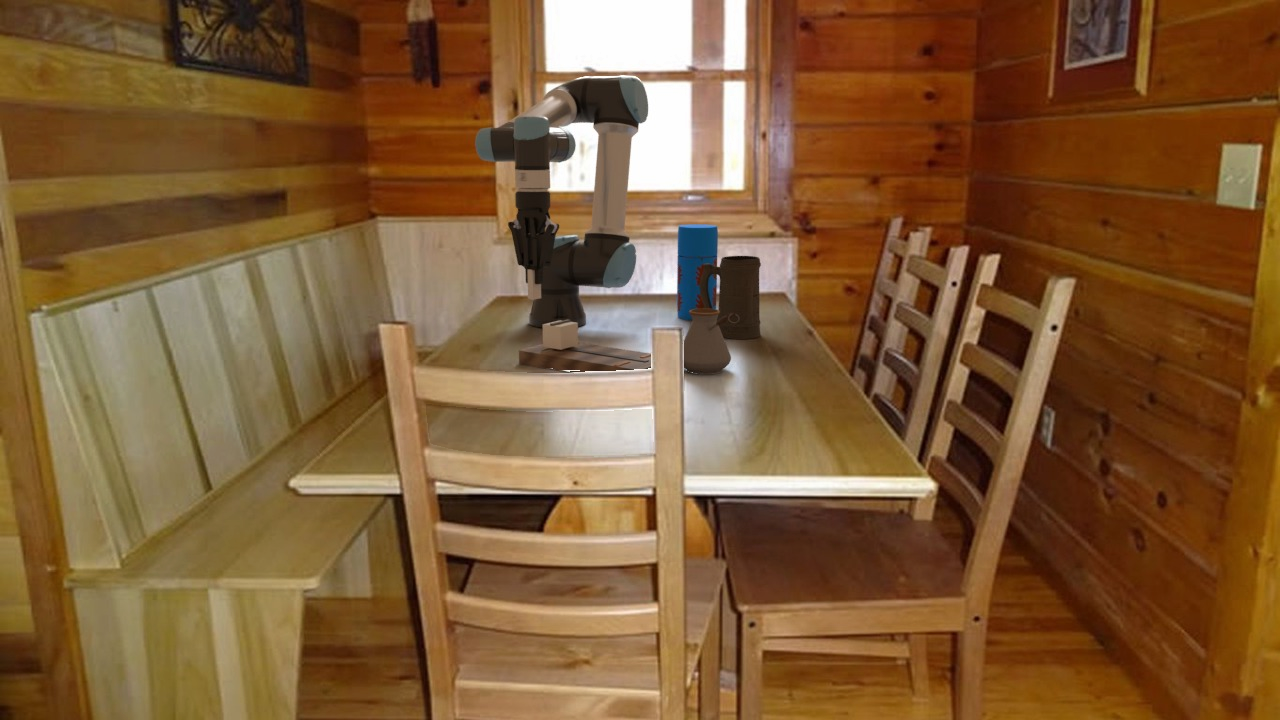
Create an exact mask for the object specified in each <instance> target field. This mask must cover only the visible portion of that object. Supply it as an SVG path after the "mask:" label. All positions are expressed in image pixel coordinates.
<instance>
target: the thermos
mask: <svg viewBox="0 0 1280 720" xmlns="http://www.w3.org/2000/svg"><path fill="white" fill-rule="evenodd" d="M718 233H719V231H718V225H714V224H713V225H712V224H680V225H678V229H677V265H676V266H677V269H676V271H677V272H676V273H677V277H676V278H677V281H676V283H677V284H676V285H677V286H676V290H677V291H676V306H677V307H676V308H677V311H676V312H677V317H678V319H681V320H686V321H687V320H688V321H693V320H692V317H691V315H690V314H689V311H690V310H692V309H701V308H705V306H704V304H703V301H702V298H701V295H700V280H701V277H702V274H703V271H704V264H707V263H710V264H712V265H713V266H717V267H718V244H719V240H718V239H719V238H718V237H719V235H718ZM717 286H718V275H717V274H712V275H711V276H710V277H709V281H708V292H709V297H710V302H711V305H712V308H713V309H716V310H717V296H718V295H717V293H718V287H717Z"/></svg>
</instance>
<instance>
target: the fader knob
mask: <svg viewBox="0 0 1280 720" xmlns="http://www.w3.org/2000/svg"><path fill="white" fill-rule="evenodd" d="M578 327H579V326H578V323H576V322H570V320H563V321H562V320H559V321H555V322H551V323H547V324H543V328H542V344H543V347H547V348H553V349H559V350H562V349H565V348H569V347H572V346H576V345H578V342H579V328H578Z"/></svg>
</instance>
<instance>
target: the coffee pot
mask: <svg viewBox="0 0 1280 720" xmlns="http://www.w3.org/2000/svg"><path fill="white" fill-rule="evenodd" d="M719 313H720V311H719V310H718V309H717V308H716V309H707V308H701V309H692V310H690V311H689V314H690V315H691V317H692V320H691V323H690V326H689V328H688V330H687V332H686V335H685V336H684V339H683V341H684V368H683V369H684V370H686V369H687V371H686V372H687V373H689V372H693V373H697V374H696V375H702V374H703V375H706V376H707V375H717V374H719V373H722V372H723V370H724V369H725V368H727V366H729V364H730V363H731V360H732V356H731V353H730V351H729V347H728V346H727V344H726V340H725V338H723V335H722V333H721V330H720V328H719V325H721V324H723V323H726V322H727V321H728V320H729V321H730V320H731V319H732V318H733V317H734V316H735V315H736V314H735V313H731V314H727V316H723V317H722V318H721V319H720V320H718V321H717V317H718V314H719ZM737 316H738V315H737ZM738 318H739V316H738ZM738 321H739V320H738ZM738 321H737V322H738ZM730 322H731V321H730ZM731 323H734V322H731ZM735 323H736V322H735ZM688 371H689V372H688ZM693 373H692V374H693Z"/></svg>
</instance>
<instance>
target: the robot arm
mask: <svg viewBox="0 0 1280 720" xmlns="http://www.w3.org/2000/svg"><path fill="white" fill-rule="evenodd" d="M648 116H649V101H648V95H647V91H646V88H645V86H644V84H643V82H642V81H641V79H640V78H638V77H637V76H635V75H624V74H620V75H609V76H607V75H604V76H583V77H582V76H581V77H578V78H574V79H572V80H569V81H567V82H564V83H562V84H560V85H558V86H556V87H553V88H552V89H551V90H549V91H548V92H546V93H545V95H544V96H543V99H542V100H541V101H539V102H538V103H536V104H534V105H532V107H530V108H527V109H526V110H525V111H523V112H521V113H520V114H518V115H517V116H515V117H513V118H512V119H510V120H509V121H507V122H505V123H504V124H502V125H500V126H498V127H497V126H496V127H492V126H490V127H485V128H484V127H483V128H481V129H479V131H477V133H476V136H475V141H474V142H475V143H474V145H475V150H476V153H477V156H478V158H479V159H481V160H482V161H485V162H486V161H487V162H494V163H497V162H500V163H501V162H502V163H503V162H505V163H509V162H510V163H511V162H514V182H515V183H514V184H515V189H518V190H517V191H516V192H515V194H514V197H515V201H514V202H515V207H516V209H517V214H516V218H515V219H514V220H513V221H508V223H507V225H508V228H509V230H510V233H511V236H512V242H513V246H514V250H515V257H516V260H517V261H516V262H517V265H518V266H521V267H523V268H524V269H525V283H526V284H527V299H528V300H532V305H531V308H530V309H531V310H530V313H529V317H528V318H529V319H528V320H529V321H528V323H529V325H530V326H532V327H536V328H542V329H543V324H547V323H551V322H555V321H559V320H562V321H563V320H570V322H576V323H578V327H581V326H584V325H586V323H587V315H586V312H585V309H584V305H583V302H582V298H581V296H580V287H593V288H595V287H596V288H606V289H611V288H615V289H616V288H623V287H625V286H627V284H628V283H629V282H630V280H632V277H633V275H634V272H635V269H636V265H637V254H636V253H637V250H636V247H635V245H634V243H631V242H630V235H629V233H627V231H625V226H626V213H627V204H628V203H627V200H628V188H629V178H630V177H629V175H630V166H631V165H630V163H631V162H630V161H631V151H632V141H633V137H634V136H636V134H637V133H638V132H639V125H640V124H643V123H645V122H646V121H647V118H648ZM579 123H580V124H581V123H584V124H585V123H586V124H587V123H588V124H593V125H592V127H593V129H594V130H595V132H596V133H597V134H598V138H597V151H596V164H595V176H594V189H593V199H592V200H593V201H592V214H591V225H590V228H589V229H588V230H586V231H585V232H584V237H583V238H584V239H583V240H580V238H579V235H577V234H571V235H570V234H568V235H559V236H557V235H556V234H557V233H558V231H559V229H560V224H559V223H555V222H553V221H552V220H551V215H550V212H549V211H550V208H551V193H550V191H548V190H549V189H550V188H551V166H550V165H551V163H562V162H566V161H569V159H571V158H572V157H573V155H574V153H575V152H576V146H577V145H576V139H575V137H574V135H573V134H572V132H570V130H568V129H565V128H562V127H568V126H569V125H572V124H579Z"/></svg>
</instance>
